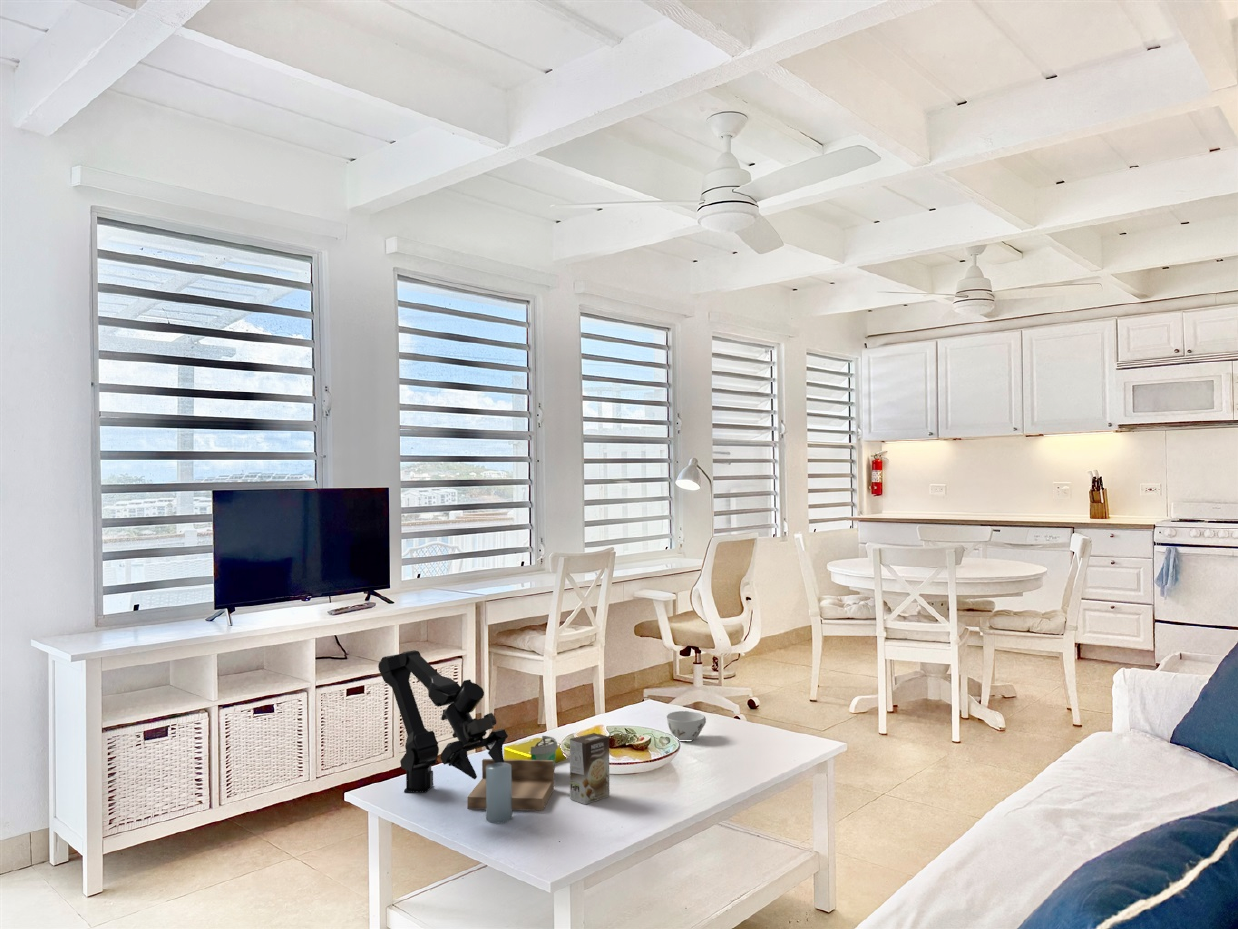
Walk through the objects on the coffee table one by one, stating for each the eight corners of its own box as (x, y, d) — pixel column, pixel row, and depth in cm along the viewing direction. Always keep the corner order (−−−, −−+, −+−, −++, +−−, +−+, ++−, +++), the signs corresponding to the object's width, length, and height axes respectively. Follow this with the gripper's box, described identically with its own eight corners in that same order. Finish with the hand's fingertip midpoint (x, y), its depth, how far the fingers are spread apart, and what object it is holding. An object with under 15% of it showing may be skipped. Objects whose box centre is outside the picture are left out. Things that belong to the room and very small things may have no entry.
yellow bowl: (538, 750, 275) (537, 735, 276) (569, 759, 265) (569, 744, 265) (501, 761, 265) (501, 745, 265) (532, 771, 254) (532, 755, 254)
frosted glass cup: (483, 822, 213) (482, 770, 214) (490, 813, 219) (489, 762, 220) (508, 823, 212) (507, 770, 213) (514, 814, 219) (513, 762, 219)
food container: (551, 783, 241) (551, 748, 242) (530, 782, 243) (530, 747, 243) (563, 770, 254) (562, 736, 254) (543, 769, 255) (542, 735, 255)
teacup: (682, 747, 274) (682, 722, 274) (659, 738, 285) (658, 714, 285) (718, 739, 283) (717, 715, 283) (694, 731, 293) (694, 707, 293)
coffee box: (585, 805, 224) (584, 743, 225) (569, 799, 229) (568, 738, 229) (610, 796, 231) (609, 736, 231) (594, 790, 235) (593, 732, 236)
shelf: (467, 808, 223) (467, 777, 223) (483, 787, 239) (483, 759, 239) (542, 810, 221) (542, 779, 221) (553, 789, 237) (553, 760, 237)
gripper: (446, 711, 216) (474, 764, 208) (503, 698, 230) (531, 746, 222) (428, 738, 221) (455, 790, 213) (484, 723, 235) (512, 771, 227)
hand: (489, 773), depth 219 cm, fingers open, 9 cm apart
